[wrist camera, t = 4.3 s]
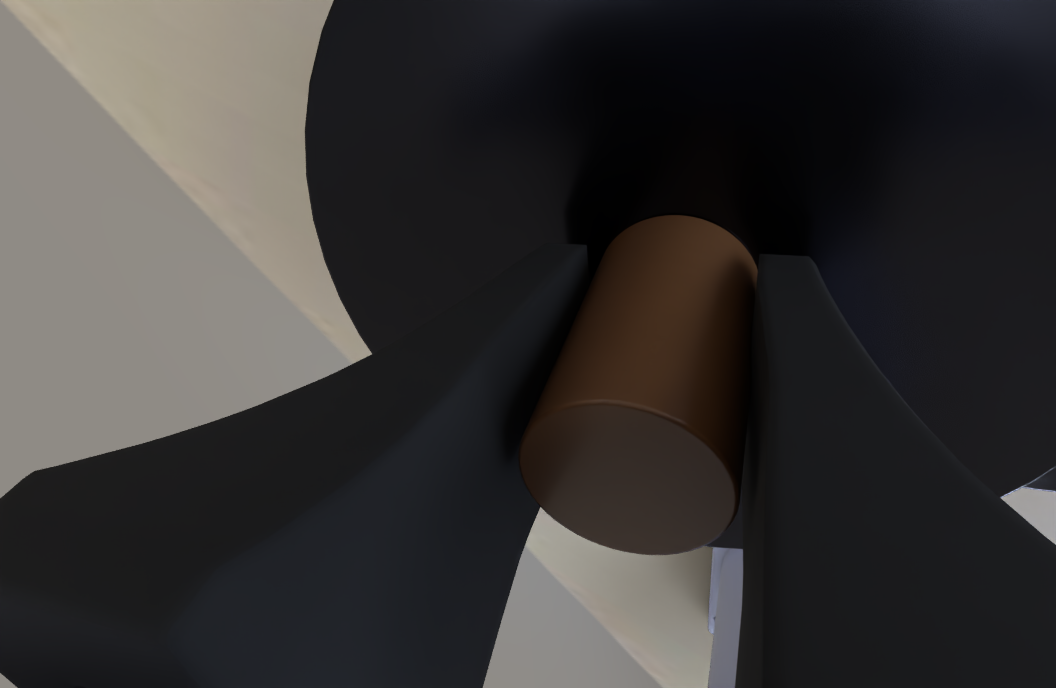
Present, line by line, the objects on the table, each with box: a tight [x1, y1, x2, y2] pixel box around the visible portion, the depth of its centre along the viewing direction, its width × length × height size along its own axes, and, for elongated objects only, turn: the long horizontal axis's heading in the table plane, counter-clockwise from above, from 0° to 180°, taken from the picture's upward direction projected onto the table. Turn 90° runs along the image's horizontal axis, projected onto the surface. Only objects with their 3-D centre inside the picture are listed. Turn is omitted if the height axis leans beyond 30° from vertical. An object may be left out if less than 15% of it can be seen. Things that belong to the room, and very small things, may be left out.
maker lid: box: [305, 0, 1056, 555], centre depth 9 cm, size 13×13×5 cm
